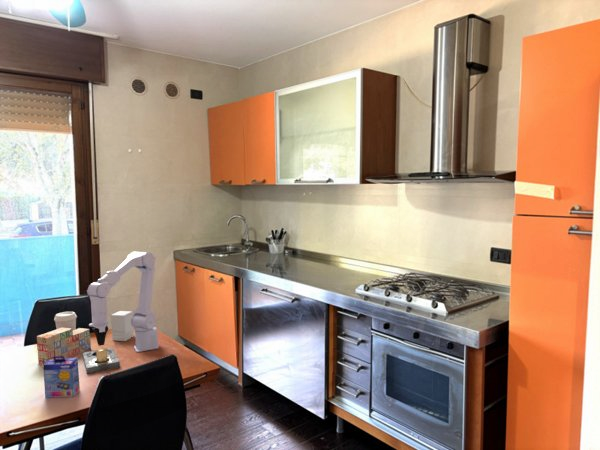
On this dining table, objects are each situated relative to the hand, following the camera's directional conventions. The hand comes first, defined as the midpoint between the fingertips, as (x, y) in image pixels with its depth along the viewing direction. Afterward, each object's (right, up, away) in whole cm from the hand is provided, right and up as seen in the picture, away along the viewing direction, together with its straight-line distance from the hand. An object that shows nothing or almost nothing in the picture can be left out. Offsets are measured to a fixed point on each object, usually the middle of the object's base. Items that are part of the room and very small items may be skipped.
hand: (101, 344), depth 179 cm
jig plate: (-2, -9, +5) cm, 10 cm away
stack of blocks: (-21, -9, +13) cm, 27 cm away
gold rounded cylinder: (0, -9, +1) cm, 9 cm away
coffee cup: (-28, -8, +27) cm, 39 cm away
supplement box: (-5, -7, +35) cm, 36 cm away
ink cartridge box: (-3, -11, -23) cm, 26 cm away
